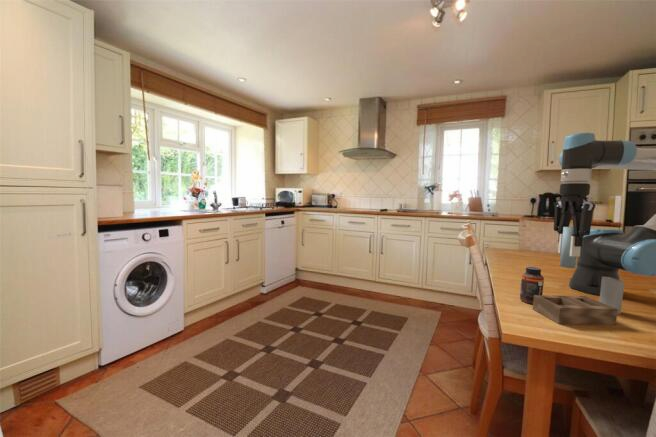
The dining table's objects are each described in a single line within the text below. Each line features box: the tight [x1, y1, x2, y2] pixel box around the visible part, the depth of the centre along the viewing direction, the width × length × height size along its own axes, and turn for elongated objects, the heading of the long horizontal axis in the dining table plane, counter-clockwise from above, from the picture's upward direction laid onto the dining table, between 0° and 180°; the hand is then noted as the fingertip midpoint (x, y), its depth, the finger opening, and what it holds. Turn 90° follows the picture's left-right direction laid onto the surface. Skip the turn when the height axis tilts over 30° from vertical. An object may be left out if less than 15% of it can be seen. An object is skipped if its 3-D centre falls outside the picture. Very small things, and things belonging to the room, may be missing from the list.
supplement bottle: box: [519, 266, 545, 305], centre depth 97 cm, size 6×6×11 cm
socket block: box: [532, 294, 618, 326], centre depth 86 cm, size 16×10×4 cm, turn 91°
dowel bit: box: [559, 226, 577, 269], centre depth 98 cm, size 4×4×13 cm
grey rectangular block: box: [598, 277, 625, 315], centre depth 91 cm, size 2×5×10 cm, turn 1°
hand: (568, 254), depth 98 cm, fingers closed on dowel bit, 4 cm apart
